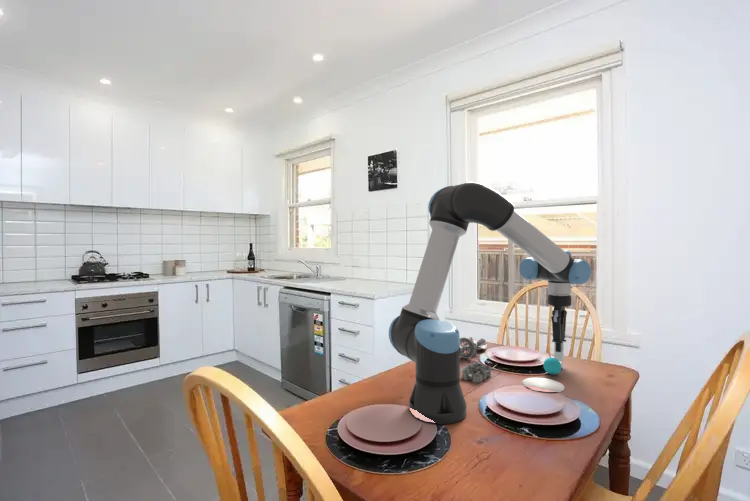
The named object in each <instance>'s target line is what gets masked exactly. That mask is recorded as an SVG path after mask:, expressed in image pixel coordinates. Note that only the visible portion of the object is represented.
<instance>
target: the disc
mask: <svg viewBox="0 0 750 501" xmlns="http://www.w3.org/2000/svg"><path fill="white" fill-rule="evenodd" d="M521 384H522V385H523V386H524V385H526V386H535V387H539V388H543V389H549V390H552V391H555V392H558V393H557V394H559V393H561V392H563V391H564V390H565V386H564V384H563V383H561V382H558V381H557V380H554V379H551V378H544V377H528V378H524V379H522V382H521Z"/></svg>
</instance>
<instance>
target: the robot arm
mask: <svg viewBox="0 0 750 501" xmlns="http://www.w3.org/2000/svg"><path fill="white" fill-rule="evenodd" d="M427 208H428V212H429V216H430V219H429V226H430V227H431V232H430V235H429V238H428V242H427V245H426V248H425V252H424V254H423V257H422V261H421V264H420V268H419V270H418V274H417V277H416V281H415V284H414V286H413V290H412V293H411V295H410V298H409V302H408V304H405V305H404V306H402V307H401V311H400V313H399V315H398V316H397V317H395V318H394V319H393V320H392V321H391V323H390V324H389V328H388V340H389V342H390V344H391V346H392V347H393V348H394V349H395V351H397V353H398V354H401V356H404V357H406V358H408V359H409V360H411V361H412V362H414V364H415V382H414V385H413V388H412V391H411V394H410V398H409V400H408V402H409V403H408V405H409V406H408V408H409V407H410V408H412V409H414V410H417V411H418V412H419V413H421V414H422V415H424V416H425V417H427V418H429V419H431V420H433V421H434V422H436V423H437V424H436V425H450V424H454V423H458V422H460V421H462V420H464V419H465V418H466V417H467V401H466V400H465V395H464V393H463V389H462V386H461V382H460V379H461V378H460V376H461V373H460V372H461V369H460V368H461V366H460V365H461V364H460V363H461V362H460V361H461V360H460V359H461V356H460V338H461V336H460V332H459V329H458V327H457V326H456V325H454V324H453V323H451V322H449V321H446V320H440V318H439V316H438V314H437V312H438V307H439V304H440V301H441V298H442V295H443V292H444V288H445V285H446V281H447V278H448V274H449V272H450V269H451V266H452V263H453V259H454V255H455V253H456V249H457V246H458V243H459V240H460V238H461V237H463V236H464V235H466V234H467V230H468V227H469V226H470V225H469V224H471V223H472V224H473V223H474V224H478V225H481V226H484V227H485V228H487V229H488V230H489V231H491V232H494V231H495V232H496V231H497V232H498V233H499V234H501V235H502V236H503V237H504V238H506V239H507V240H508V241H509V242H511V243H512V244H514V245H515V246H516V247H517V248H519V250H521V251H523V253H525V254H526V255H528V256H529V257H525V258H523V259H522V260H520V263H519V266H518V267H519V274H520V275H521V277H522V278H523V279H526V280H529V281H530V280H531V281H534V280H540V281H547V293H548V295H547V305H549V306H551V307H552V306H553V310H551V311H552V312H551V317H550V319H551V327H552V328H551V329H552V340H551V342H552V343H554V349H553V350H554V352H553V354H554V356H553V358H556V359H557V360H559V362H564V361H565V358H564V356H565V354H564V348H565V342H567V339H566V328H567V327H566V325H567V314H568V312H567V310H566V307H571V306H572V295H571V294H572V289H574V285H584V284H586V283H587V282H588V281H589V280H590V278H591V275H592V267H591V265H590V263H589V262H588V261H586V260H584V259H579V258H577V259H575V258H574V257H572V253H571V251H570V250H564V249H562V247H560V246H559V245H558V244H556V243H555V242H554V241H553V240H551V239H550V238H549V237H548V236H547V235H546V234H544V233H543V232H542V231H541V230H539V229H538V228H537V227H536V226H534V225H533V224H532V223H531V222H530V221H528V220H527V219H526V218H525V217H524V216H522V215H521V214H520V213H519V212H518V211H516V210H515V205H514V203H512V202H511V200H509V199H508V198H507V197H505V196H504V195H503V194H501V193H500V192H498V191H496V190H495V189H493V188H492V187H490V186H488V185H486V184H484V183H480V182H475V181H468V182H465V183H460V184H457V185H456V184H455V185H448V186H444V187H443V188H440V189H439V190H437V191H436V192H434V193H433V195H432V196H431V197H430V199H429V202H428V207H427Z"/></svg>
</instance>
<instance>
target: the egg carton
mask: <svg viewBox="0 0 750 501" xmlns="http://www.w3.org/2000/svg"><path fill="white" fill-rule="evenodd" d="M460 368H461V369H460V372H461V373H462V376H461V377H462V378H463V380H466V381H467V380H470V381H472V382H473V383H481V382H483V380H486V379H487V377H488V378H489V377H491V376H492V371H493V367H489V366H488V365H486V364H483V363H479V362H478V361H474V362H473V363H471V364H468V365H467V366H465V367H460Z"/></svg>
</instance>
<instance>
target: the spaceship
mask: <svg viewBox="0 0 750 501" xmlns="http://www.w3.org/2000/svg"><path fill="white" fill-rule="evenodd" d="M486 342H487V341H486V339H485V338H482V337H481V338H479V340H477V339H476V340H473V337H467V336H466V337H460V358H463V359H466V360H467V359H471V358H472V357H473V356H477V355H478V353H477V351H478V350H480V349H487V347H488V343H486Z"/></svg>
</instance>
